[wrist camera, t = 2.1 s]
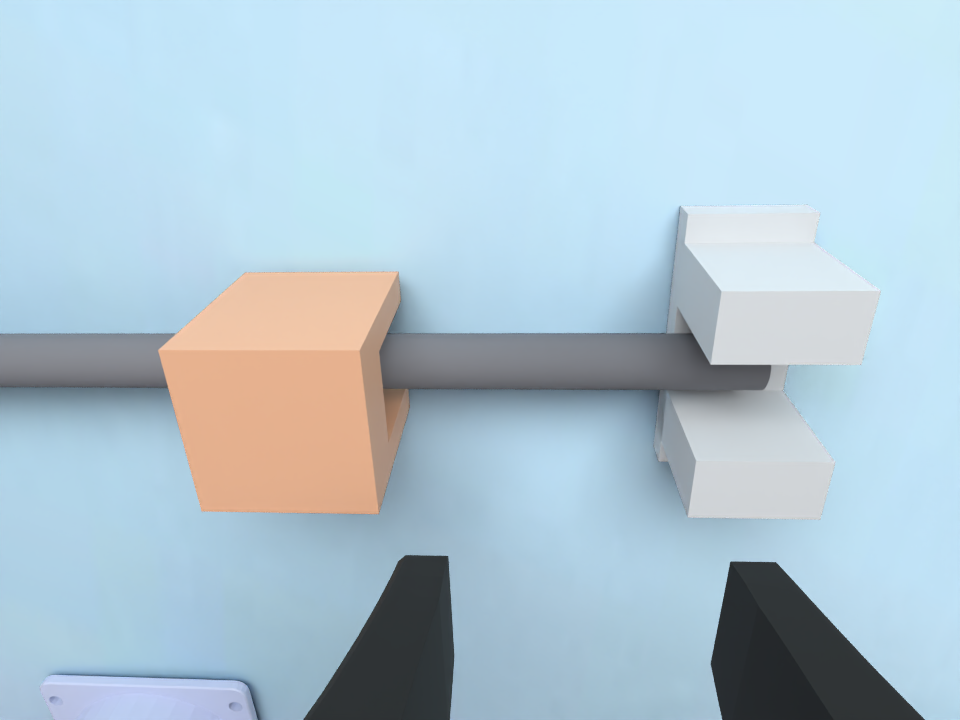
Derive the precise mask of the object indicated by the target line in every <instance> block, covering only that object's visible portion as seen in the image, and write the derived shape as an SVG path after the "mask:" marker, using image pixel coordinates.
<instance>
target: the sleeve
mask: <svg viewBox="0 0 960 720" xmlns="http://www.w3.org/2000/svg"><path fill="white" fill-rule="evenodd" d="M400 302H401V296H400V284H399V272H257V273H244V274H243V275H242V276H241V277H240V278H238V279H237V280H236V281H235V282H234V283H233V284H232V285H231V286H229V287H228V288H227V289H226V290H225V291H224V292H223V293H222V294H221V295H219V296H218V297H217V298H216V299H215V300H214V301H213V302H212V303H210V304H209V305H208V306H207V307H206V308H205V309H204V310H203V311H201V312H200V313H199V314H198V315H197V316H196V317H195V318H194V319H192V320H191V321H190V322H189V323H188V324H187V325H186V326H185V327H183V328H182V329H181V330H180V331H179V332H178V333H177V334H176V335H175V336H173V337H172V338H171V339H170V340H169V341H168V342H167V343H166V344H164V345H163V346H162V347H161V348H160V349H159V350H158V352H159V356H160V359H161V363H162V367H163V370H164V374H165V378H166V381H167V385H168V389H169V392H170V396H171V400H172V403H173V407H174V411H175V415H176V418H177V422H178V426H179V429H180V433H181V437H182V440H183V444H184V448H185V451H186V455H187V459H188V462H189V466H190V470H191V474H192V477H193V481H194V485H195V488H196V492H197V496H198V499H199V503H200V507H201V510H202V511H214V512H278V513H342V514H379V512H380V508H381V505H382V502H383V498H384V495H385V491H386V488H387V484H388V481H389V477H390V474H391V470H392V467H393V463H394V460H395V456H396V453H397V449H398V446H399V442H400V439H401V436H402V432H403V429H404V425H405V422H406V418H407V415H408V411H409V408H410V403H409V391H408V389H383V384H382V374H381V365H380V355H379V350H380V348H381V346H382V344H383V341H384V339H385V337H386V334H387V332H388V330H389V327H390V325H391V323H392V320H393V318H394V316H395V313H396V311H397V309H398V307H399V304H400Z"/></svg>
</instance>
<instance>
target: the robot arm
mask: <svg viewBox="0 0 960 720" xmlns="http://www.w3.org/2000/svg"><path fill="white" fill-rule="evenodd" d="M453 667H454V644H453V627H452V611H451V594H450V578H449V561H448V556H418V555H405V556H404V557H403V558H402V559H401V560H399V561H398V563H397V565H396V568H395V570H394V572H393V574H392V576H391V578H390V580H389V582H388V584H387V586H386V588H385V590H384V592H383V593H382V595H381V597H380V599H379V601H378V603H377V604H376V606H375V608H374V610H373V612H372V613H371V615H370V617H369V618H368V620H367V622H366V624H365V625H364V627H363V629H362V630H361V632H360V634H359V636H358V637H357V639H356V641H355V642H354V644H353V645H352V647H351V648H350V650H349V652H348V653H347V655H346V656H345V658H344V660H343V661H342V663H341V664H340V666H339V667H338V669H337V671H336V672H335V674H334V675H333V677H332V679H331V680H330V682H329V683H328V685H327V686H326V688H325V689H324V691H323V692H322V694H321V695H320V697H319V698H318V700H317V701H316V703H315V704H314V705H313V707H312V708H311V710H310V711H309V712H308V714H307V715H306V717H305V718H304V720H450V709H451V696H452V682H453ZM711 667H712V672H713V677H714V682H715V687H716V692H717V697H718V702H719V706H720V711H721V715H722V720H925V719H924V718H923V717H922V716H921V715H920V714H919V713H918V712H917V711H916V710H915V709H914V708H913V707H912V706H911V705H910V704H909V703H908V702H907V701H906V700H905V699H904V698H903V697H902V696H901V695H900V694H899V693H898V692H897V691H896V690H895V689H894V688H893V687H892V686H891V685H890V684H889V683H888V682H887V681H886V680H885V679H884V678H883V677H882V676H881V675H880V674H879V673H878V672H877V671H876V669H875V668H874V667H873V666H872V665H871V664H870V663H869V662H868V661H867V660H866V659H865V658H864V657H863V656H862V655H861V654H860V653H859V652H858V650H857V649H856V648H855V647H854V646H853V645H852V644H851V643H850V642H849V641H848V640H847V639H846V638H845V637H844V635H843V634H842V633H841V632H840V631H839V630H838V629H837V628H836V627H835V626H834V625H833V624H832V623H831V621H830V620H829V619H828V618H827V617H826V616H825V615H824V614H823V613H822V612H821V611H820V609H819V608H818V607H817V606H816V605H815V604H814V603H813V602H812V601H811V600H810V599H809V597H808V596H807V595H806V594H805V593H804V592H803V591H802V590H801V589H800V588H799V587H798V585H797V584H796V583H795V582H794V581H793V580H792V579H791V578H790V577H789V576H788V575H787V574H786V573H785V571H784V570H783V569H782V568H781V567H780V566H779V565H778V564H777V563H776V562H730V567H729V572H728V578H727V583H726V588H725V593H724V598H723V603H722V608H721V614H720V619H719V624H718V629H717V634H716V639H715V644H714V650H713V655H712V660H711ZM40 692H41V694H42V696H43V698H44V700H45V702H46V704H47V706H48V708H49V710H50V712H51V714H52V716H53V718H54V720H258V719H257V715H256V712H255V708H254V704H253V701H252V697H251V693H250V690H249V688H248V686H247V685H246V684H244V683H243V682H240V681H236V680H206V679H174V678H142V677H109V676H77V675H50V676H48V677H46V678H45V679H44V681H43V682H42V684H41V685H40Z"/></svg>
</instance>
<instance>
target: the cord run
mask: <svg viewBox="0 0 960 720" xmlns="http://www.w3.org/2000/svg"><path fill="white" fill-rule="evenodd" d="M819 217H820V212H818V211H816V210H815V209H813V208H812V207H810V206H808V205H725V206H680V215H679V224H678V233H677V242H676V251H675V259H674V268H673V277H672V286H671V295H670V304H669V313H668V321H667V330H666V333H502V334H386V337H385V339H384V341H383V344H382V346H381V348H380V350H379V355H380V365H381V374H382V384H383V389H564V390H660V392H659V401H658V410H657V419H656V428H655V437H654V445H653V446H654V449H655V452H656V455H657V458H658V461H659V462H669V465H670V468H671V471H672V473H673V476H674V479H675V482H676V485H677V488H678V491H679V494H680V497H681V499H682V502H683V505H684V508H685V511H686V514H687V517H688V518H749V519H814V520H820V519H821V515H822V511H823V507H824V504H825V500H826V496H827V492H828V489H829V485H830V481H831V477H832V473H833V470H834V466H835V461H834V460H833V458H832V457H831V456H830V454H829V453H828V451H827V450H826V449H825V447H824V446H823V445H822V443H821V442H820V441H819V439H818V438H817V436H816V435H815V434H814V432H813V431H812V430H811V428H810V427H809V425H808V424H807V423H806V421H805V420H804V419H803V417H802V416H801V415H800V413H799V412H798V410H797V409H796V408H795V406H794V405H793V404H792V402H791V401H790V399H789V398H788V397H787V395H786V394H785V393H784V391H783V389H784V384H785V379H786V374H787V370H788V365H861V364H862V360H863V357H864V353H865V349H866V345H867V342H868V338H869V334H870V330H871V327H872V323H873V319H874V315H875V311H876V308H877V304H878V300H879V296H880V293H881V290H879V289H878V288H876V287H875V286H874V285H872V284H871V283H870V282H868V281H867V280H865V279H864V278H863V277H861V276H860V275H859V274H857V273H856V272H854V271H853V270H852V269H850V268H849V267H847V266H846V265H845V264H843V263H842V262H841V261H839V260H838V259H836V258H835V257H834V256H832V255H831V254H829V253H828V252H827V251H825V250H824V249H823V248H821V247H820V246H818V245H817V244H816V243H814V241H815V236H816V231H817V226H818V222H819ZM175 335H176V334H0V387H125V388H168V385H167V381H166V378H165V374H164V370H163V367H162V363H161V359H160V356H159V352H158V350H159V349H160V348H161V347H162V346H163V345H164V344H166V343H167V342H168V341H169V340H170V339H171V338H172V337H173V336H175Z"/></svg>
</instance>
